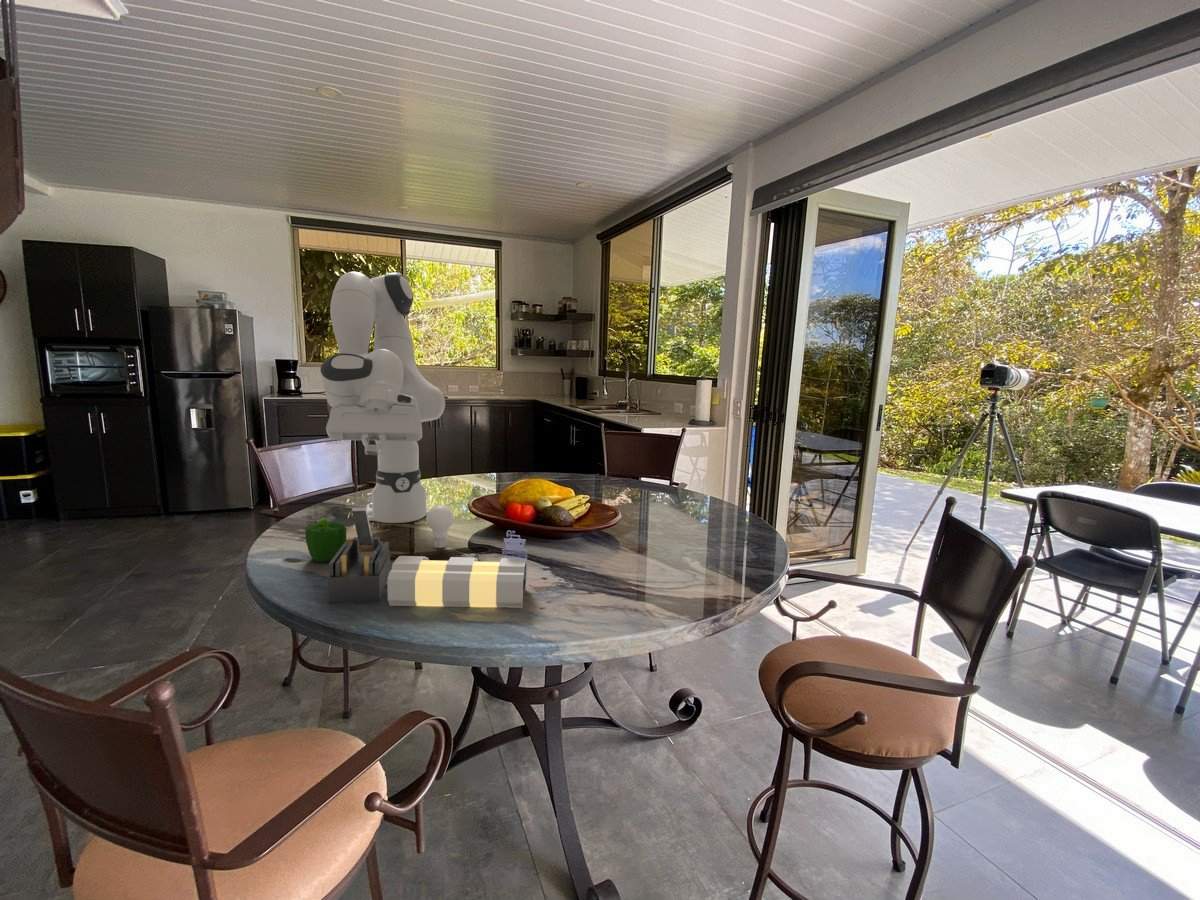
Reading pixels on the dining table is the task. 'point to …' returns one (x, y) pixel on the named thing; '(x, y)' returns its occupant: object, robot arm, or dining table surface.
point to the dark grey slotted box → (358, 573)
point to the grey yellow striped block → (459, 580)
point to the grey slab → (362, 526)
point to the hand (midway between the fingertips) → (371, 453)
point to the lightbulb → (440, 523)
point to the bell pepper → (325, 539)
